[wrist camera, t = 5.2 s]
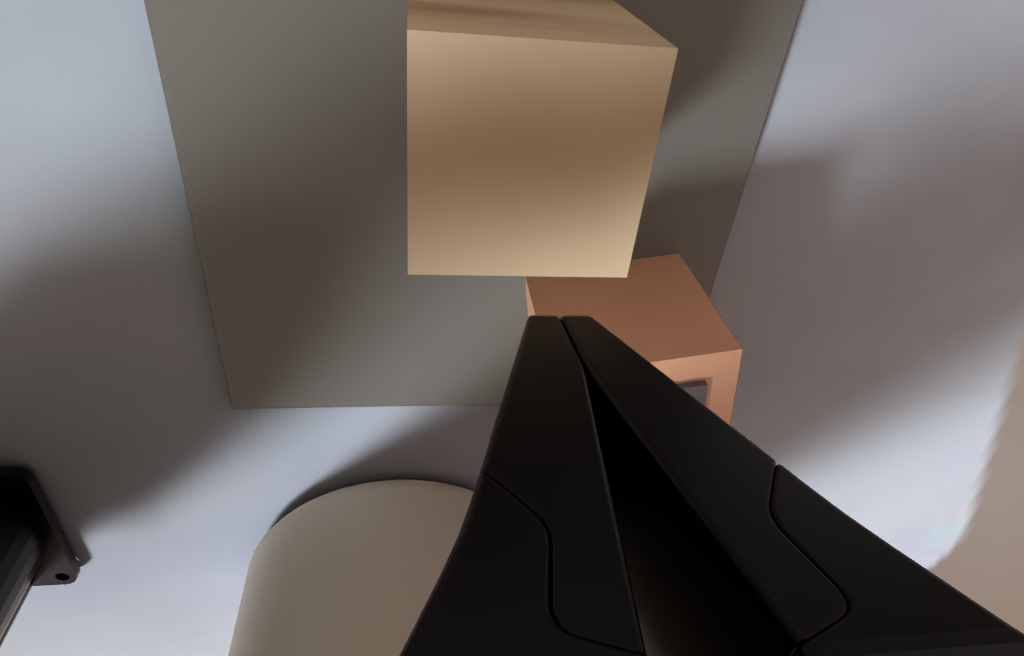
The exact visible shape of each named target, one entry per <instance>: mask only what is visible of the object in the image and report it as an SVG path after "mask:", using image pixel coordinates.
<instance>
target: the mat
mask: <svg viewBox="0 0 1024 656" xmlns="http://www.w3.org/2000/svg"><path fill="white" fill-rule="evenodd" d="M614 1H615V2H616V3H618V4H619V5H620V6H622V7H623V8H624V9H626V10H627V11H628V12H630V13H631V14H632V15H634V16H635V17H636V18H638V19H639V20H640V21H642V22H643V23H645V24H646V25H647V26H649V27H650V28H651V29H653V30H654V31H655V32H657V33H658V34H659V35H661V36H662V37H663V38H665V39H666V40H667V41H669V42H670V43H672V44H673V45H674V46H676V47H677V48H678V52H677V57H676V61H675V65H674V70H673V74H672V79H671V83H670V88H669V92H668V97H667V101H666V105H665V110H664V114H663V119H662V123H661V128H660V132H659V137H658V141H657V146H656V150H655V154H654V159H653V163H652V168H651V172H650V177H649V181H648V186H647V190H646V195H645V199H644V203H643V208H642V212H641V217H640V221H639V226H638V230H637V235H636V239H635V243H634V248H633V252H632V257H631V260H634V259H641V258H648V257H656V256H663V255H670V254H678V253H679V254H680V255H681V257H682V258H683V260H684V261H685V263H686V264H687V266H688V267H689V269H690V270H691V272H692V273H693V275H694V276H695V278H696V279H697V281H698V282H699V284H700V285H701V287H702V289H703V290H704V292H705V293H706V295H707V296H708V298H709V295H710V292H711V289H712V285H713V282H714V279H715V276H716V273H717V270H718V266H719V263H720V260H721V257H722V254H723V251H724V248H725V244H726V241H727V238H728V235H729V232H730V229H731V225H732V222H733V219H734V216H735V213H736V210H737V206H738V203H739V200H740V197H741V194H742V191H743V188H744V184H745V181H746V178H747V175H748V172H749V169H750V165H751V162H752V159H753V156H754V153H755V150H756V146H757V143H758V140H759V137H760V134H761V131H762V127H763V124H764V121H765V118H766V115H767V112H768V109H769V105H770V102H771V99H772V96H773V93H774V90H775V86H776V83H777V80H778V77H779V74H780V71H781V67H782V64H783V61H784V58H785V55H786V52H787V49H788V45H789V42H790V39H791V36H792V33H793V30H794V26H795V23H796V20H797V17H798V14H799V11H800V7H801V4H802V1H803V0H614ZM144 2H145V7H146V11H147V16H148V21H149V25H150V30H151V35H152V39H153V44H154V48H155V53H156V58H157V62H158V67H159V72H160V76H161V81H162V85H163V90H164V95H165V99H166V104H167V109H168V113H169V118H170V122H171V127H172V132H173V136H174V141H175V146H176V150H177V155H178V159H179V164H180V169H181V173H182V178H183V183H184V187H185V192H186V196H187V201H188V206H189V210H190V215H191V220H192V224H193V229H194V233H195V238H196V243H197V247H198V252H199V257H200V261H201V266H202V270H203V275H204V280H205V284H206V289H207V294H208V298H209V303H210V307H211V312H212V317H213V321H214V326H215V331H216V335H217V340H218V344H219V349H220V354H221V358H222V363H223V368H224V372H225V377H226V381H227V386H228V391H229V395H230V400H231V405H232V409H253V408H313V407H373V406H434V405H494V404H501V402H502V399H503V396H504V393H505V389H506V386H507V383H508V380H509V376H510V373H511V370H512V367H513V363H514V360H515V357H516V354H517V351H518V347H519V344H520V341H521V338H522V334H523V331H524V328H525V325H526V321H527V319H528V308H527V296H526V285H525V276H473V275H408V184H407V13H408V0H144Z"/></svg>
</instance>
